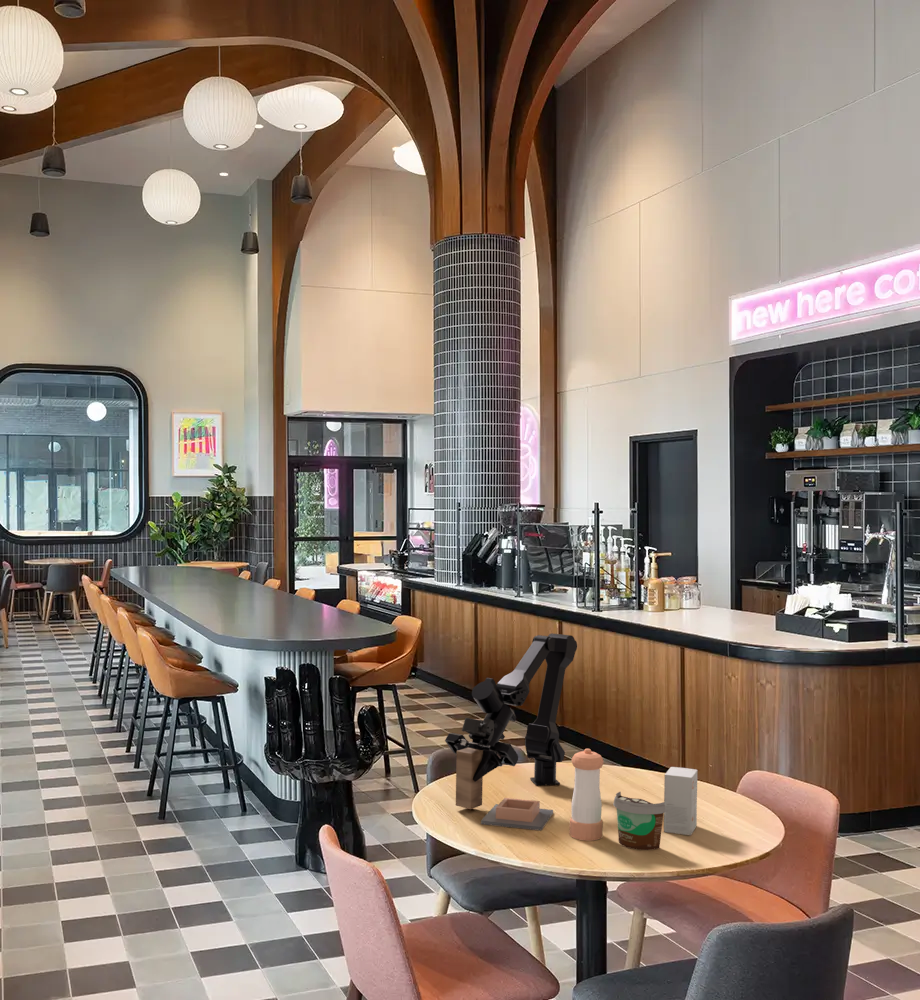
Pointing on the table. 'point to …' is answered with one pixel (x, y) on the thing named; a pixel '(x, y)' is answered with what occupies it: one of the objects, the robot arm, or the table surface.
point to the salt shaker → (586, 797)
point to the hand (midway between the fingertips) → (465, 778)
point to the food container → (639, 822)
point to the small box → (680, 800)
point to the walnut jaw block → (468, 778)
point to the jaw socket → (518, 814)
